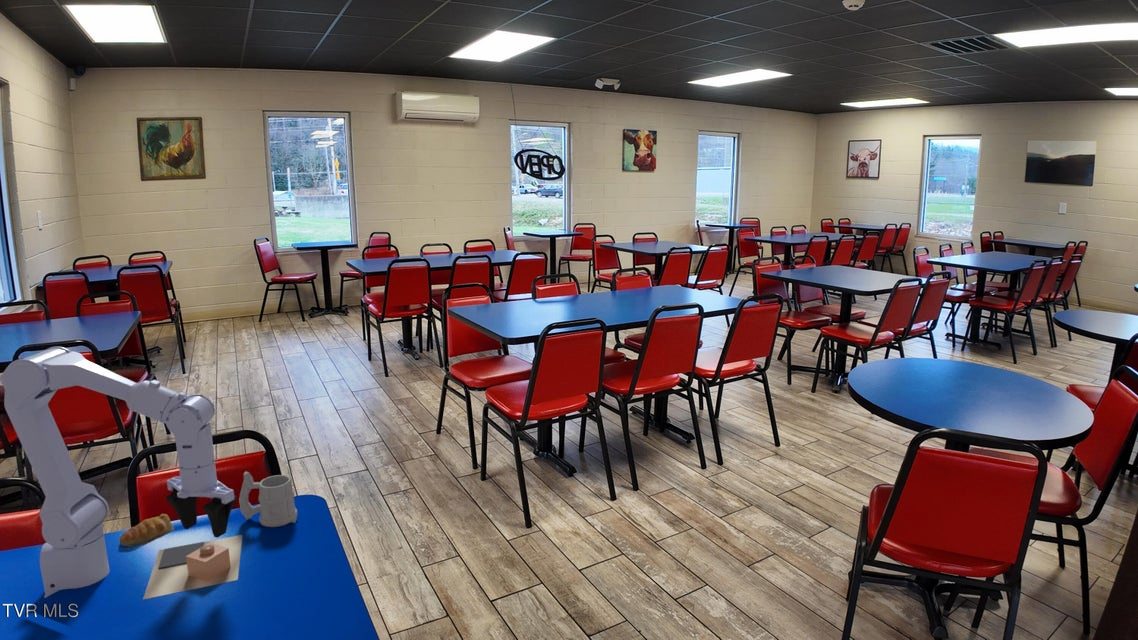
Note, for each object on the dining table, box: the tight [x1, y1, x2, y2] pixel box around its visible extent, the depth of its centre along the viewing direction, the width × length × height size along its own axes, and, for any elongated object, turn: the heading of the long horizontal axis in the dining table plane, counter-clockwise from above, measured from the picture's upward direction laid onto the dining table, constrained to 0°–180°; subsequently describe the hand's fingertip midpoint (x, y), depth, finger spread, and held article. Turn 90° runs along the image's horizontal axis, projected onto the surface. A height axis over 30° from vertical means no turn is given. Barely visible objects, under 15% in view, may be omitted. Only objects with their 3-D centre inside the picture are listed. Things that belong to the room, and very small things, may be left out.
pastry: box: [119, 513, 175, 547], centre depth 138 cm, size 9×7×4 cm
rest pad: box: [158, 541, 205, 569], centre depth 130 cm, size 7×7×1 cm
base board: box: [142, 534, 243, 600], centre depth 127 cm, size 15×17×1 cm
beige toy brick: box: [186, 543, 231, 582], centre depth 124 cm, size 5×5×5 cm
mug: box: [238, 471, 298, 528], centre depth 143 cm, size 8×12×12 cm, turn 94°
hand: (205, 530), depth 123 cm, fingers open, 7 cm apart
